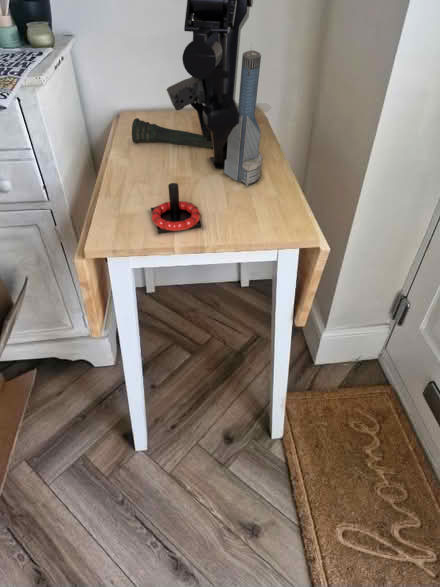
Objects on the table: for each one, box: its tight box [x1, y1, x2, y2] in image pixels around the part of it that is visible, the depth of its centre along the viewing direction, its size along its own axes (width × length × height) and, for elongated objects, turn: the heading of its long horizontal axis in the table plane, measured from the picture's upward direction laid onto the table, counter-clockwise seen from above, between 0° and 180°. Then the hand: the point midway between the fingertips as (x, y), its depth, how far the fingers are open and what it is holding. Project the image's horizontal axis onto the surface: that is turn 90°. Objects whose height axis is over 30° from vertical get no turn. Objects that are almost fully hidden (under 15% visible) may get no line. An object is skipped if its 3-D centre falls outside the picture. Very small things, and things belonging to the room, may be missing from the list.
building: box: [223, 43, 264, 187], centre depth 96 cm, size 10×9×30 cm
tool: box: [131, 117, 213, 149], centre depth 117 cm, size 28×6×7 cm, turn 80°
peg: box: [150, 182, 202, 235], centre depth 88 cm, size 9×9×8 cm
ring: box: [150, 200, 202, 232], centre depth 88 cm, size 10×10×2 cm
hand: (211, 145), depth 91 cm, fingers open, 9 cm apart
